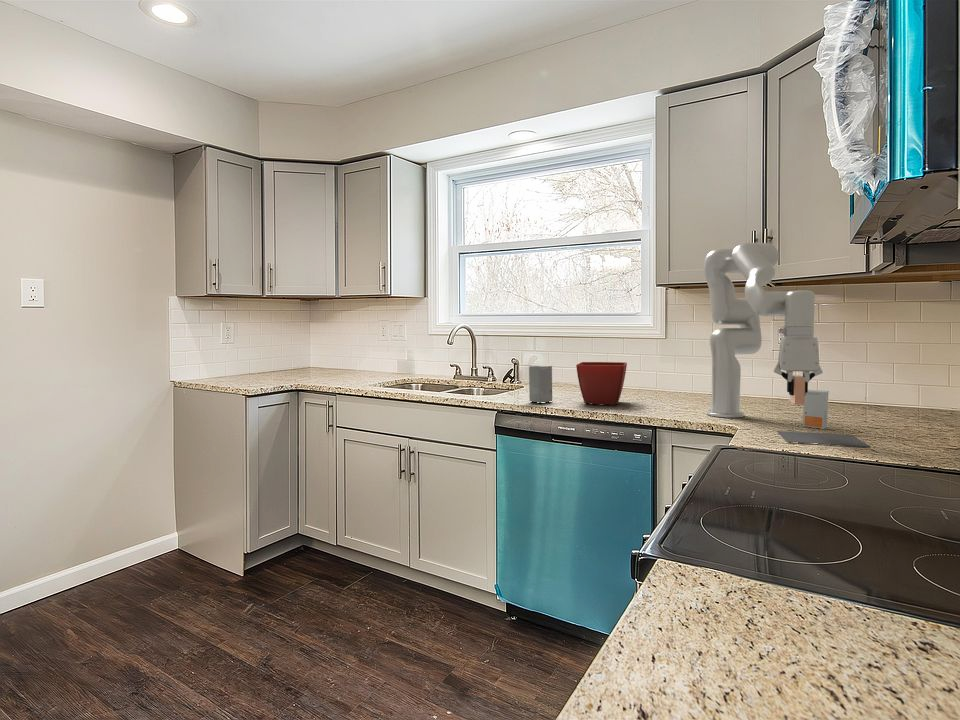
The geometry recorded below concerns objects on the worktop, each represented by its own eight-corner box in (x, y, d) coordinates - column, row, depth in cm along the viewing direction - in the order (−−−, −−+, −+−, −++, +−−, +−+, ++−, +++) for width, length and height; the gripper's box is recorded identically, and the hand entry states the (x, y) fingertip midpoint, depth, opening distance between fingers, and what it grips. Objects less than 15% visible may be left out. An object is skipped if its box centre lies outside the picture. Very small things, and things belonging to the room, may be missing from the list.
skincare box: (802, 427, 182) (803, 390, 181) (806, 425, 185) (807, 389, 184) (823, 429, 177) (825, 392, 176) (827, 427, 180) (828, 390, 179)
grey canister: (540, 404, 234) (540, 366, 233) (527, 402, 239) (527, 365, 238) (553, 402, 239) (553, 365, 238) (540, 400, 245) (541, 364, 243)
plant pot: (581, 399, 248) (582, 361, 247) (626, 401, 242) (627, 362, 241) (575, 405, 230) (575, 364, 229) (623, 407, 224) (624, 365, 223)
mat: (777, 432, 174) (777, 431, 174) (851, 436, 167) (851, 434, 167) (787, 443, 158) (787, 441, 158) (870, 447, 152) (870, 446, 152)
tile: (789, 401, 170) (790, 375, 170) (798, 401, 170) (799, 375, 169) (794, 404, 164) (795, 377, 163) (804, 404, 163) (805, 377, 162)
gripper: (770, 333, 164) (769, 395, 165) (833, 332, 159) (831, 397, 160) (766, 332, 171) (764, 392, 173) (826, 332, 166) (824, 394, 168)
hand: (797, 394), depth 167 cm, fingers closed on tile, 2 cm apart
